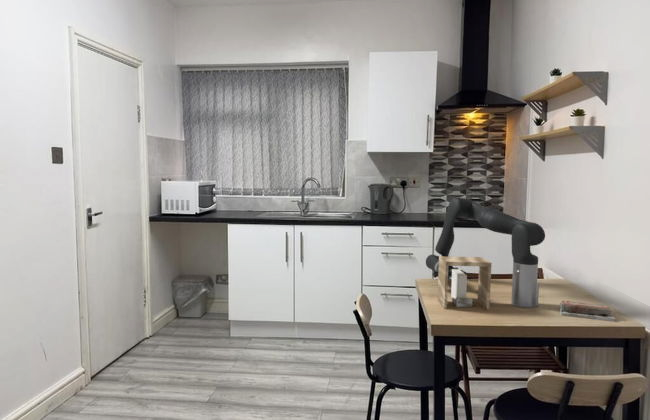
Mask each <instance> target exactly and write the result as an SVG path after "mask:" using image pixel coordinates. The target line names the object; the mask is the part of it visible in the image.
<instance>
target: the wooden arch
mask: <svg viewBox="0 0 650 420" xmlns="http://www.w3.org/2000/svg"><path fill="white" fill-rule="evenodd" d="M448 266H453V267H478V283H477V285H478V286H477V290H478V291H477V303H478V304H480V305H481V306H482V307H483V308H484V309H485V310H487V311H488V310H489V311H490V308H491V307H490V305H491V288H492V287H491V282H492V262H491V261H489V260H488V259H486V258H484V257H482V256H448V257H445V256H442V255H440V256H439V274H438V277H437V279H438V280H437V286H438V287H437V302H438V303H439V305H441V307H442V308H443V309H444V310H447V309H448V288H449V283H448V282H449V279H448ZM450 298H451V299H450V301H451V302H452V304H453V305H454V306H456V307H458V308H472V307H473V299H472V298H471V297H466V298H456V299H455V298H454V297H451V296H450Z"/></svg>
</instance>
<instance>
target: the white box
mask: <svg viewBox="0 0 650 420" xmlns="http://www.w3.org/2000/svg"><path fill="white" fill-rule="evenodd" d="M461 270H462V269H457V268H454V269H452V278H451V286H450V287H451V290H450V291H451V292H450V298H451V297H454V298H455V299H456V298H467V288H468V287H467V286H468V285H467V283H468V282H467V281H468V275H467V273H466V274H464V273H463V272H462V271H461Z"/></svg>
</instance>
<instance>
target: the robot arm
mask: <svg viewBox="0 0 650 420" xmlns="http://www.w3.org/2000/svg"><path fill="white" fill-rule="evenodd" d="M457 218H463V219H470V220H474V221H477V222H478V224H479V225H480V226H481V227H483V228H485V229H487V230H488V231H491V232H494V233H498V234H504V235H511V254H512V259H513V260H512V261H513V262H512V279H511V280H512V281H511V298H510V299H511V305H513V306H516V307H519V308H527V309H528V308H529V309H530V308H538V307H539V293H540V292H539V291H540V283H539V282H538V273H539V272H538V270H539V257H538V255H535V254H533V253H532V252H531V247H532V246H538V245H539V244H542V243H543V242H544V241H545V239H546V233H545V232H546V231H545V230H544V228H543V226H541V225H540V224H538V223H536V222H533V221H532V222H531V221H528V220H524V219H520V218H518V217H514V216H512V215H510V214H509V213H505V212H502V211H501V210H497V209H495V208H492V207H488V206H483V205H481V204H478V203H477V202H476V201H473V200H472V199H469V198H465V197H464V198H463V197H459V196H458V197H453V198H452V199H451V200H450V201H449V202H448V206H447V210H446V214H445V217H444V220H443V221H444V223H443V226H442V230H441V233H440V236H439V238H438V241H437V243H436V246H435V249H434V250H435V251H436V252H435V253H438V254H439V255H440V256H445V257H449V255H450V252H451V249H452V247H453V245H454V242H455V231H454V225H455V222H456V219H457ZM425 265H426V267H427V268H428V269H429V270H432V271H431V272H432V277H433V278H438V274H439V256H438V255H437V254H436V255H435V254H429V255H428V256H427V257H426V259H425ZM452 269H455V267H454V266H448V280H450V279H452ZM460 270H461V271H462V272H463V273H464V274H466V275H467V272H466V271H464V270H463V269H460Z"/></svg>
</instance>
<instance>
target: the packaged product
mask: <svg viewBox="0 0 650 420" xmlns="http://www.w3.org/2000/svg"><path fill="white" fill-rule="evenodd" d="M558 309H559V314H560V316H562V317H563V316H564V317H570V318H571V317H573V318H579V319H587V320H588V319H589V320H595V321H603V322H612V321H613V323H615V322H616V317H615V316H614V315H613V313H612V309H611V307H610V306H607V305H603V304H593V303H585V302H577V301H570V300H561V302H560V303H559V308H558Z"/></svg>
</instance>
